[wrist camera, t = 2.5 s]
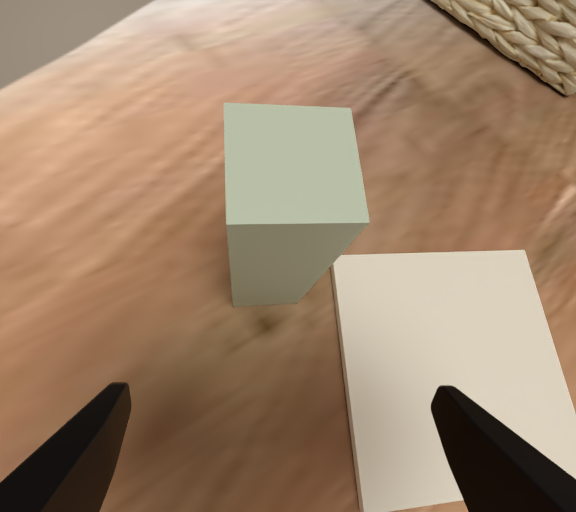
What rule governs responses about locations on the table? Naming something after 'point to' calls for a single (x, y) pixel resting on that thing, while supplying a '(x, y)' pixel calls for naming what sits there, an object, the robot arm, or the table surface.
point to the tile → (442, 365)
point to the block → (289, 197)
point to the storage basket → (527, 34)
